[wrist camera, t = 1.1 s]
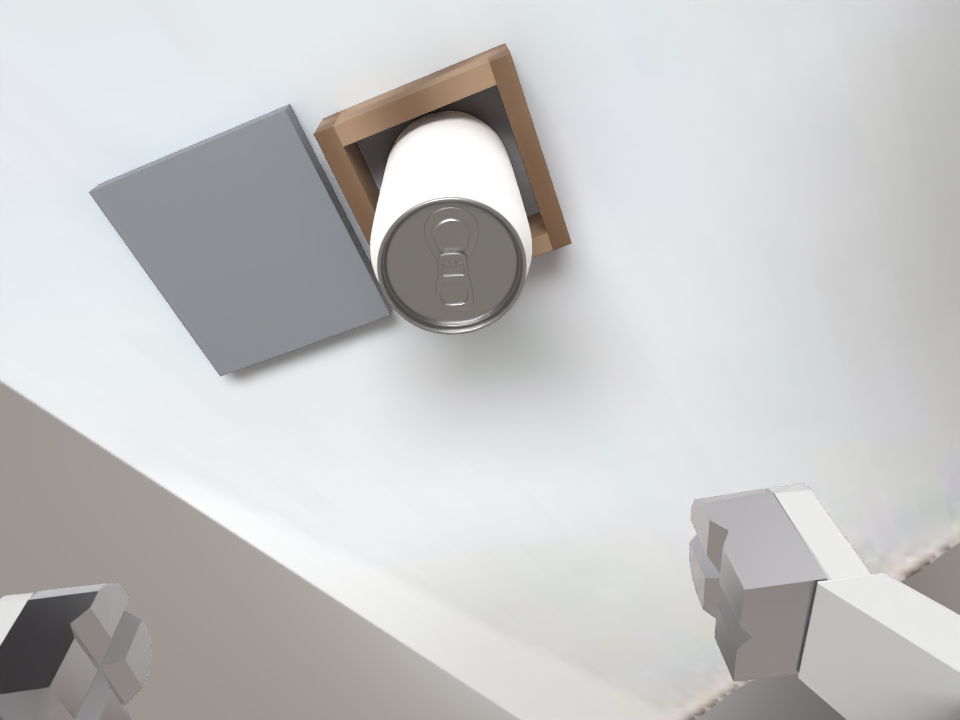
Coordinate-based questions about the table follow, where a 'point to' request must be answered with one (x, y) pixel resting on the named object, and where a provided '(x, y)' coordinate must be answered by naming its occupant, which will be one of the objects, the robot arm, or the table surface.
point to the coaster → (247, 242)
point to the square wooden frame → (427, 96)
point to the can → (450, 226)
